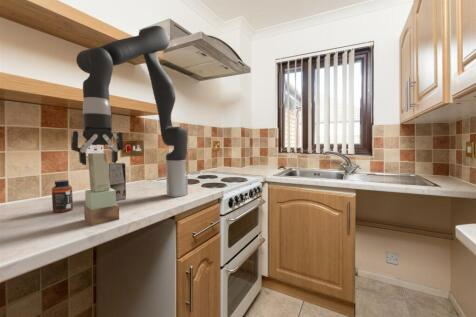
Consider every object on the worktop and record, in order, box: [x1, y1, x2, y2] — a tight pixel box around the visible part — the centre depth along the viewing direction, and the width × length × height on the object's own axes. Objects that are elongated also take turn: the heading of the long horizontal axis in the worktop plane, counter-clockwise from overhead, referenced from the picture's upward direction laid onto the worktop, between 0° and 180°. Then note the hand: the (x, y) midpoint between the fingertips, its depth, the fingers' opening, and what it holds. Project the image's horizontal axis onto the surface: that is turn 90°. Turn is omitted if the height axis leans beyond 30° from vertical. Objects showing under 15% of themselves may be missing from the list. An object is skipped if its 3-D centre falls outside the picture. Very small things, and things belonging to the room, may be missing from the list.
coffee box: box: [108, 162, 127, 201], centre depth 101 cm, size 9×6×16 cm
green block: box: [84, 188, 117, 210], centre depth 72 cm, size 7×7×5 cm
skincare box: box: [87, 152, 110, 192], centre depth 72 cm, size 6×4×12 cm
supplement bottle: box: [51, 179, 74, 213], centre depth 82 cm, size 6×6×11 cm
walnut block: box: [83, 203, 120, 227], centre depth 73 cm, size 8×8×5 cm
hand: (99, 163), depth 72 cm, fingers open, 8 cm apart
